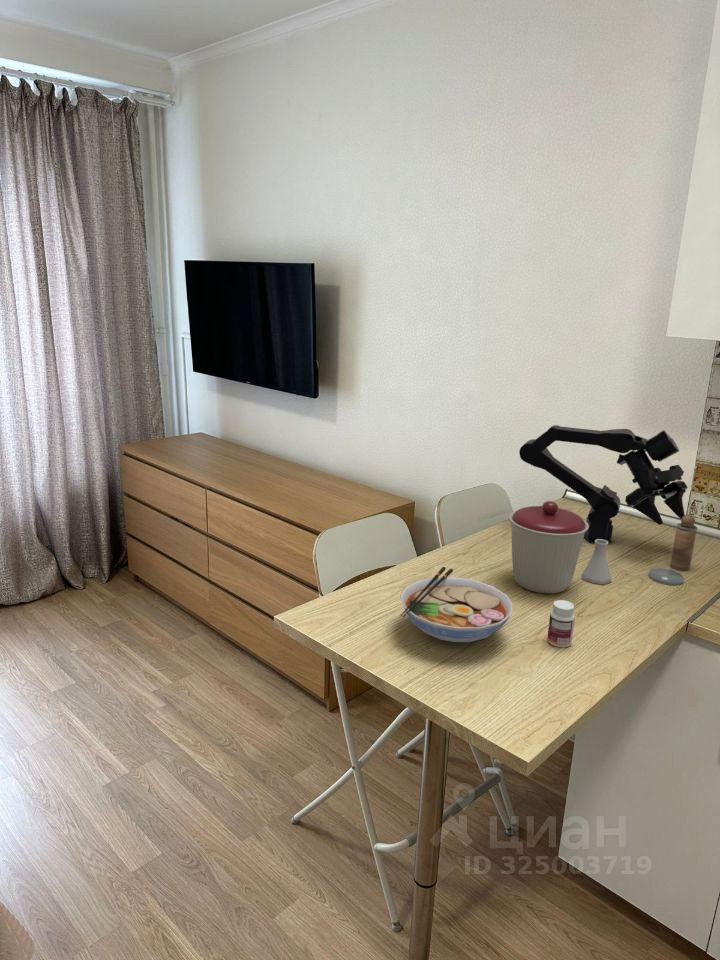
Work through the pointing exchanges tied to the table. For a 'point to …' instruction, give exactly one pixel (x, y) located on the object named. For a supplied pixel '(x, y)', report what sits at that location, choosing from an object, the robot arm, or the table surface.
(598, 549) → the flask
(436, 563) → the table surface
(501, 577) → the table surface
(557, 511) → the canister
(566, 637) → the pill bottle
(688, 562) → the pepper mill
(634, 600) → the table surface
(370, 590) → the table surface
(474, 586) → the ramen bowl
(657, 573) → the slate coaster
